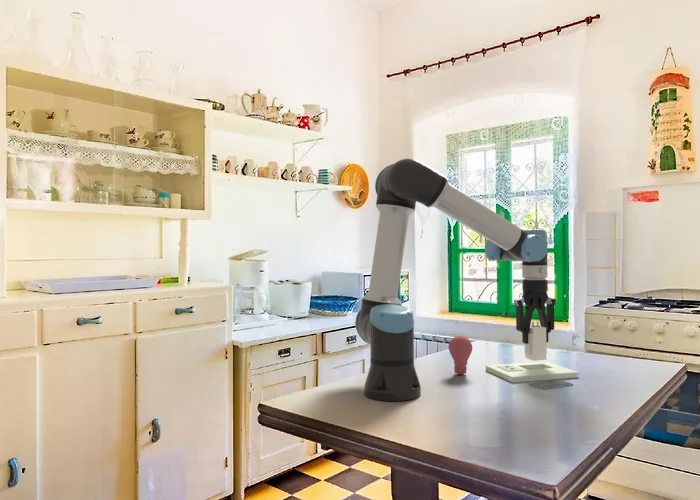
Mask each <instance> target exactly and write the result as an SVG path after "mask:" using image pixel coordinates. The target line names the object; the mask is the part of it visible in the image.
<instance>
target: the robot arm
mask: <svg viewBox="0 0 700 500" xmlns="http://www.w3.org/2000/svg"><path fill="white" fill-rule="evenodd" d="M374 188H375V194H376V202H375V207H376V209H377V210H378V212H379V215H378V216H379V218H378V224H377V230H376V231H377V232H376V237H375V244H374V250H373V251H374V252H373V258H372V266H371V271H370V280H369V286H368V292H367V293H365V295H363V297H362V299H361V305H360V310H359V311H358V312H357V314H356V316H355V323H354V324H355V325H354V326H355V329H356V333H357V334H358V336H359V337H360V339H361V340H362V341H364V342H365V344H368V345H370V366H369V370H368V373H367V376H366V379H365V382H364V386H363V387H364V388H363V389H364V390H363V391H364V395H365V397H367V398H369V399H372V400H375V401H383V402H402V401H411V400H414V399H417V398H419V397H420V396H421V394H422V390H421V389H422V388H421V384H420V380H419V377H418V374H417V371H416V368H415V357H414V356H415V353H414V352H415V348H414V347H415V345H414V344H415V343H414V342H415V341H414V340H415V338H414V336H415V331H414V329H415V320H414V313H413V311H412V309H411V308H410V307H408V306H405V305H402V301H401V300H400V299H399V297H398V295H399V286H400V281H401V280H400V279H401V274H402V266H403V258H404V251H405V246H406V239H407V238H406V237H407V231H408V225H409V217H410V216H411V215H412V214H414V213H415V211H416V204H417V203H419V204H420V205H421V204H422V205H423V206H425V207H426V208H436V209H437V210H439V211H440V212H442V213H444V214H445V215H447V216H448V217H450V218H452V219H454V220H455V221H457V223H460V224H462V225H463V226H465V227H467V228H468V229H470V230H471V231H473V232H474V233H476V234H478V235H480V236H481V237H483V239H486V241H485V244H484V253H485V256H486V258H487V259H488V260H489V261H493V262H494V261H496V262H499V261H506V262H507V261H511V262H521V266H522V267H521V273H522V274H521V277H522V278H523V279H522V281H521V283H522V284H521V286H522V288H521V289H522V295H521V297H520V298H518V299H516V298H515V299H514V300H513V302H514V306H515V321H516V322H515V324H516V325H515V328H516V331H518V332H520V333H522V339H521V340H522V344H524V354H525V353H526V354H529V355H532V342H531V333H529V330H530V326H532V319H533V313H534V312H535V311H536V312H537V316H538V320H539V326H542V327H546V355H547V352H548V351H547V350H548V349H547V345H548V344H547V343H549V333H551V332H552V331H554V330H555V305H556V302H557V300H556V298H553V297H550V296H549V294H548V290H549V288H548V287H549V285H548V284H549V282H548V279H547V278H548V245H549V244H548V234H547V231H546V230H545V229H539V228H537V229H522V228H520V227H519V226H517V225H515V224H514V223H512V222H511V221H509V220H508V219H506V218H504V217H503V216H501V214H498V213H497V212H495V211H493V210H491V209H490V208H489V207H487V206H485V205H484V204H482V203H481V202H479V201H477V200H476V199H474V198H473V197H472V196H470V195H468V194H466V193H464V192H463V191H462V190H460V189H459V188H457V187H455V186H454V185H452V184H451V183H449V179H448V177H447V176H445V175H444V174H442V173H441V172H439V171H437V170H436V169H435V168H433V167H431V166H429V165H428V164H425V163H424V162H423V161H419V160H417V159H414V158H403V159H399V160H396V162H395V163H392V164H389V165H387V166H385V167H384V168H383V169H382V170H381V171H380V172H379V173H378V175H377V177H376V180H375V185H374ZM524 304H525V307H524ZM545 305H546V306H545Z"/></svg>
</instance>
